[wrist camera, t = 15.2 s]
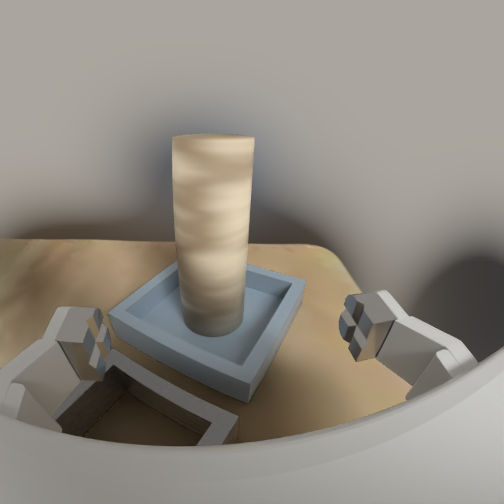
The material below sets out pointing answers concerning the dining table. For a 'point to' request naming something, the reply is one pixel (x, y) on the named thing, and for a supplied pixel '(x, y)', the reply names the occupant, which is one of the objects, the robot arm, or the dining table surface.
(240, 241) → the peg
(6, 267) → the dining table surface
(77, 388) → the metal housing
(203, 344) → the tray
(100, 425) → the dining table surface
